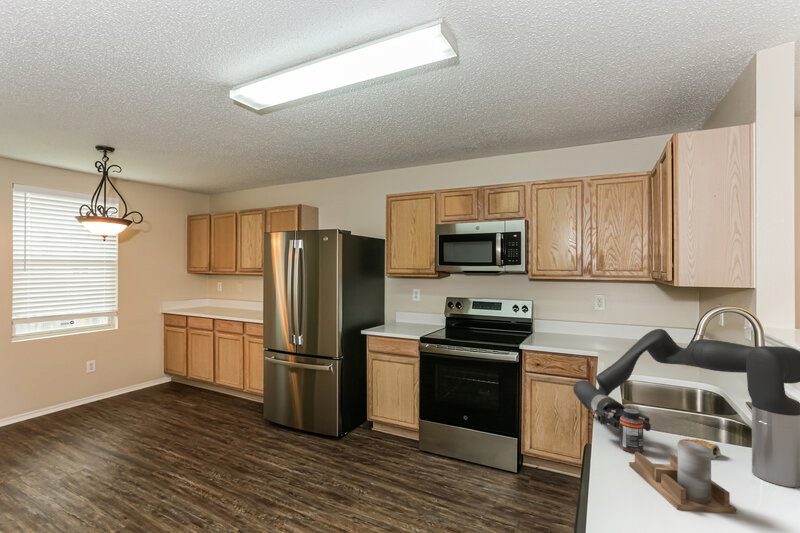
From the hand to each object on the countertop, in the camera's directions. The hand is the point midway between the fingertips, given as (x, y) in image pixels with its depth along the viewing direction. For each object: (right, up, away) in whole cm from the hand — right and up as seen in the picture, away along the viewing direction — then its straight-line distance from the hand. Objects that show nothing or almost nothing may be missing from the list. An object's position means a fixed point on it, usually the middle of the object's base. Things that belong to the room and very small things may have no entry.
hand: (633, 426), depth 114 cm
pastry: (+20, -8, 0) cm, 21 cm away
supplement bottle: (0, -7, +1) cm, 7 cm away
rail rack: (-2, -6, -20) cm, 21 cm away
